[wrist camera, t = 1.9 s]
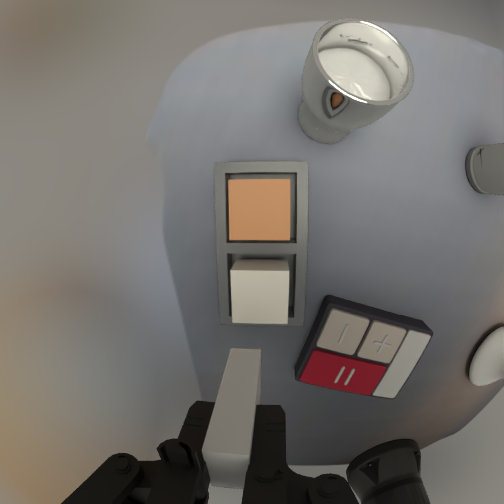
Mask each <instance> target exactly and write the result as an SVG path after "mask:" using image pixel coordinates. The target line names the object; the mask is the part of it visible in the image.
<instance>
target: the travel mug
mask: <svg viewBox="0 0 504 504" xmlns="http://www.w3.org/2000/svg"><path fill="white" fill-rule="evenodd" d="M466 172H467V176H468V179H469V181H470V183H471V185H472V187H473V188H474V189H475V190H476V191H477V192H479V193H483V194H494V195H504V143H500V144H493V145H486V146H480V147H475V148H473V149H471V150H470V152H469V154H468V156H467V160H466Z"/></svg>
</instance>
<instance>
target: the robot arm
mask: <svg viewBox="0 0 504 504" xmlns="http://www.w3.org/2000/svg"><path fill="white" fill-rule="evenodd" d="M260 392H261V349H240V348H231V350H230V353H229V357H228V360H227V364H226V367H225V371H224V374H223V378H222V381H221V385H220V388H219V392H218V395H217V399H216V402H206V401H196V402H195V403H194V404H193V405H192V406H191V407H190V408H189V411H188V413H187V416H186V418H185V421H184V425H183V426H182V429H181V431H180V434H179V437H178V439H169V440H166V441H164V442H162V443H161V444H160V445H159V446H158V447H157V451H158V453H159V455H160V458H161V460H156V461H138V460H137V459H136V458H135V457H134V456H132V455H130V454H127V453H118V454H114V455H112V456H111V457H109V458H108V459H107V460H106V461H105V462H104V463H103V464H102V465H101V466H100V467H99V468H98V469H97V470H96V471H95V472H94V473H93V474H92V475H91V476H90V477H89V478H88V479H87V480H86V481H84V482H83V483H82V484H81V485H80V486H79V487H78V488H77V489H76V490H75V491H74V492H73V493H72V494H71V495H70V496H69V497H68V498H66V499H65V500H64V501H63V502H62V503H61V504H208V499H209V493H208V487H209V483H211V486H216V487H224V488H234V489H244V490H243V497H242V504H359V503H358V501H357V499H356V497H355V495H354V493H353V491H352V489H351V487H352V488H353V490H354V491H355V493H356V494H357V496H358V497H359V498H360V500H361V504H430V501H429V498H428V495H427V493H426V490H425V487H424V485H423V482H422V479H421V476H420V471H421V454H420V450H419V447H418V445H417V443H416V442H415V441H412V440H407V439H403V440H396V441H391V442H388V443H385V444H382V445H379V446H377V447H374V448H372V449H370V450H368V451H367V452H365V453H363V454H361V455H360V456H359V457H357V458H356V459H355V460H354V461H352V462H351V464H350V465H349V466H348V468H347V470H346V474H347V479H348V482H347V481H346V480H345V478H343V477H341V476H339V475H336V474H322V475H320V476H318V477H316V478H312V477H307V476H302V475H300V474H297V473H295V472H293V471H292V470H291V469H290V468H289V467H288V465H287V463H286V425H285V423H286V420H285V412H284V410H283V409H282V407H281V406H280V405H259V403H260ZM349 484H350V485H349ZM350 486H351V487H350Z"/></svg>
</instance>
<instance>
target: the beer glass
mask: <svg viewBox="0 0 504 504" xmlns="http://www.w3.org/2000/svg"><path fill="white" fill-rule="evenodd" d="M413 82H414V69H413V64H412V61H411V59H410V56H409V54H408V53H407V51H406V49H405V48H404V47H403V45H402V44H401V43H400V42H399V41H398V39H397V38H395V37H394V36H393V35H392V34H391V33H390V32H388V31H387V30H385V29H384V28H382V27H380V26H378V25H376V24H374V23H372V22H369V21H366V20H362V19H357V18H341V19H336V20H333V21H330V22H328V23H326V24H325V25H323V26H322V27H321V28H320V29H319V30H318V31H317V33H316V34H315V36H314V39H313V43H312V45H311V47H310V50H309V52H308V55H307V57H306V60H305V64H304V67H303V73H302V92H303V97H304V100H303V101H302V102H301V104H300V106H299V109H298V120H299V124H300V126H301V128H302V129H303V131H304V132H305V133H306V134H307V135H308V136H309V137H310V138H312V139H314V140H316V141H318V142H321V143H335V142H338V141H340V140H342V139H344V138H345V137H346V136H347V135H348V134H349V132H350V131H351V130H353V129H358V128H361V127H364V126H367V125H370V124H372V123H374V122H375V121H377V120H379V119H380V118H382V117H383V116H384V115H386V114H387V113H388V112H389V111H390V110H392V109H393V108H394V107H395V106H396V105H397V104H398V103H399V102H400V101H401V100H402V99H404V98H405V97H406V96H407V95H408V93H409V92H410V90H411V88H412V86H413Z"/></svg>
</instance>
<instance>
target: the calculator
mask: <svg viewBox="0 0 504 504" xmlns="http://www.w3.org/2000/svg"><path fill="white" fill-rule="evenodd" d="M432 336H433V332H432V330H431V329H430V328H429V327H428V326H427V325H426V324H425V323H424V322H423V321H421V320H418V319H414V318H410V317H406V316H403V315H397V314H393V313H390V312H386V311H383V310H380V309H376V308H373V307H369V306H366V305H363V304H359V303H356V302H352V301H349V300H345V299H342V298H339V297H335V296H332V295H326V296H325V298H324V300H323V303H322V305H321V308H320V310H319V312H318V315H317V317H316V320H315V322H314V324H313V327H312V329H311V331H310V334H309V336H308V338H307V341H306V343H305V345H304V347H303V350H302V352H301V354H300V356H299V358H298V361H297V363H296V365H295V380H297V381H300V382H304V383H308V384H312V385H317V386H321V387H326V388H330V389H335V390H340V391H345V392H350V393H356V394H361V395H367V396H373V397H380V398H386V399H394V398H395V397H396V396H397V395H398V393H399V392H400V390H401V389H402V387H403V386H404V384H405V383H406V381H407V379H408V378H409V376H410V375H411V373H412V371H413V370H414V368H415V366H416V365H417V363H418V361H419V360H420V358H421V356H422V354H423V352H424V351H425V349H426V347H427V345H428V343H429V341H430V340H431V338H432Z"/></svg>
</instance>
